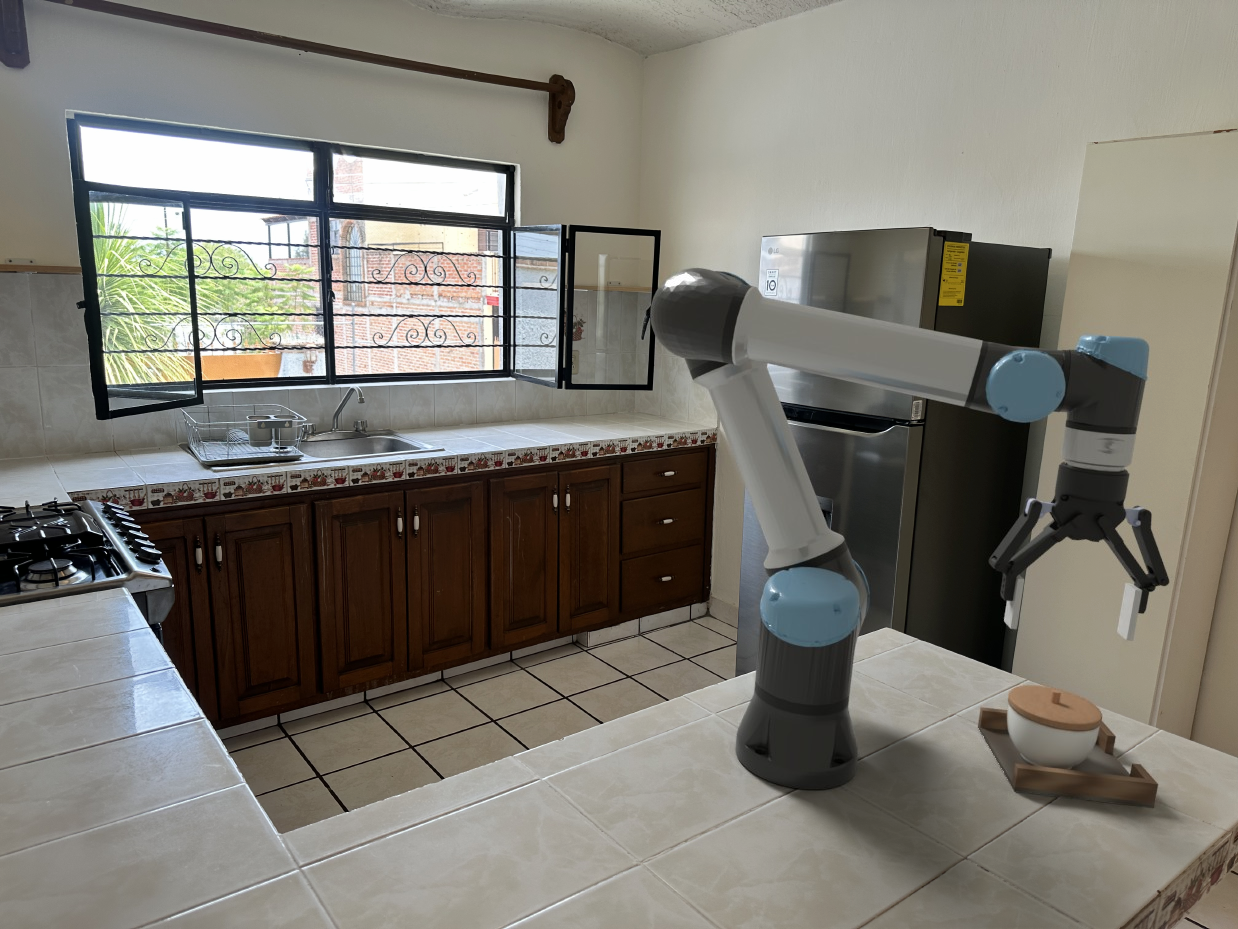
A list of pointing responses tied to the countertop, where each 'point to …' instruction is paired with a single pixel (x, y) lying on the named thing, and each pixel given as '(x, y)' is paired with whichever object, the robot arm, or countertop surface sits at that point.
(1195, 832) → the countertop surface
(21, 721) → the countertop surface
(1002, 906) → the countertop surface
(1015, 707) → the lidded jar
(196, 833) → the countertop surface
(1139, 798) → the holder
